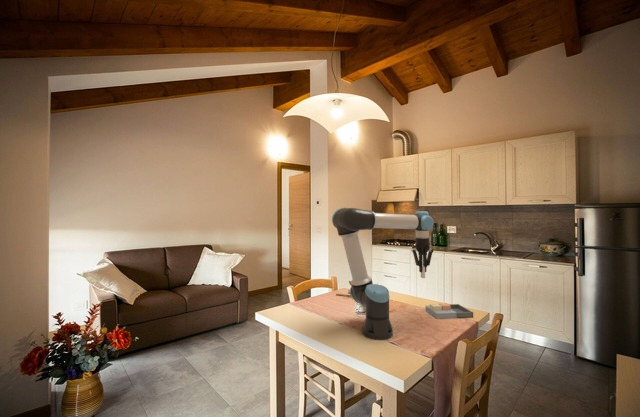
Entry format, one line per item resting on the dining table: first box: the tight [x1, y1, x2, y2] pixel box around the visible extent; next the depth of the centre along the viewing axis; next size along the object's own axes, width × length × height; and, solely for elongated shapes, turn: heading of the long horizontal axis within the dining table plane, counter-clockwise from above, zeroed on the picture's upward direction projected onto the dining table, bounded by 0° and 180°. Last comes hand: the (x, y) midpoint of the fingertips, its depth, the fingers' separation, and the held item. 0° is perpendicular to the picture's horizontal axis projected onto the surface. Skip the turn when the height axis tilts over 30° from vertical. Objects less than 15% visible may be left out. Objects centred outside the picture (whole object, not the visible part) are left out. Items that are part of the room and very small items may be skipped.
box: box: [449, 303, 474, 319], centre depth 179 cm, size 15×10×3 cm, turn 6°
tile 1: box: [429, 303, 442, 311], centre depth 178 cm, size 5×5×2 cm
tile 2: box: [438, 302, 451, 310], centre depth 179 cm, size 5×5×2 cm
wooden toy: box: [335, 280, 354, 300], centre depth 215 cm, size 22×10×14 cm, turn 63°
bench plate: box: [425, 305, 458, 320], centre depth 178 cm, size 14×12×3 cm
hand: (422, 277), depth 177 cm, fingers closed
